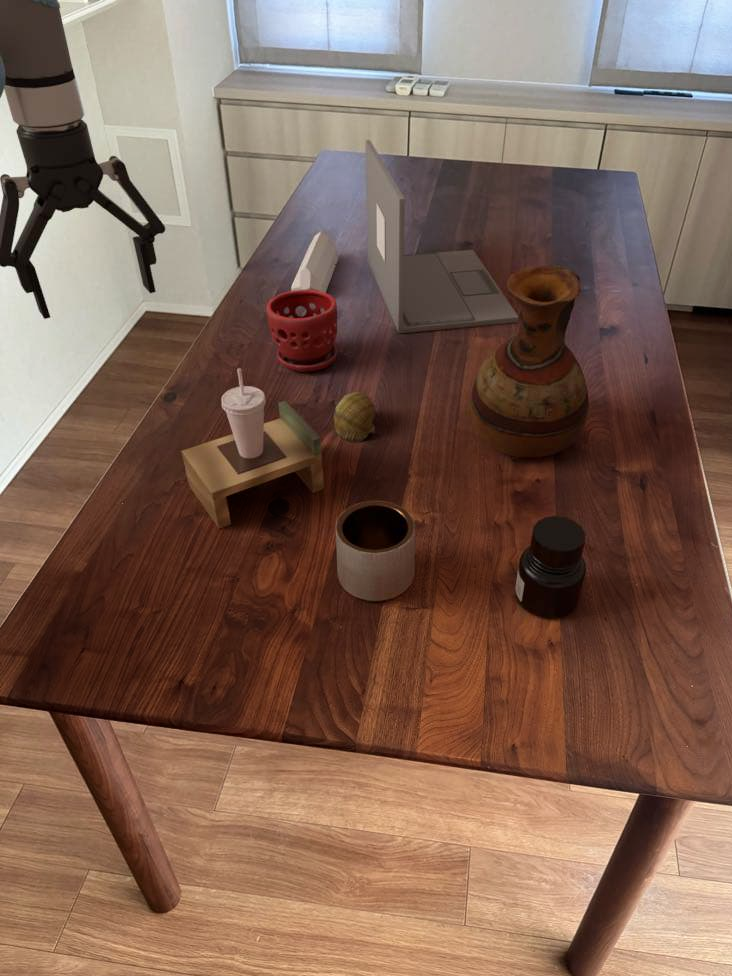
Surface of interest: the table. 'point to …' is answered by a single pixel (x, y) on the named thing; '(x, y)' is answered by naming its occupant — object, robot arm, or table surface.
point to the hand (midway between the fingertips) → (98, 301)
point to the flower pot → (304, 329)
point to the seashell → (354, 417)
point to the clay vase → (533, 371)
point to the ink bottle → (552, 568)
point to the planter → (375, 550)
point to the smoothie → (246, 417)
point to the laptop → (424, 268)
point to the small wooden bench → (253, 463)
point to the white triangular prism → (317, 265)
